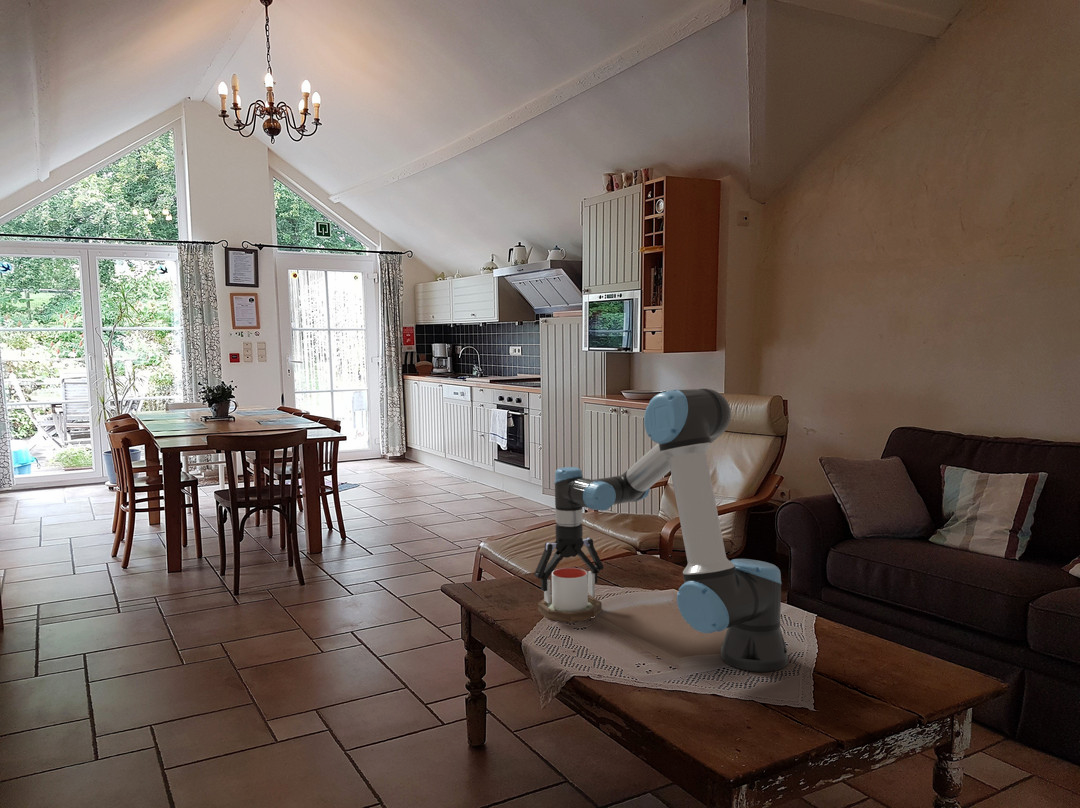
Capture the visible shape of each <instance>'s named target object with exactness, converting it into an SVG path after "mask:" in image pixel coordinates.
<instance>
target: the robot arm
mask: <svg viewBox="0 0 1080 808" xmlns="http://www.w3.org/2000/svg"><path fill="white" fill-rule="evenodd" d="M731 418H732V410H731V407H730V404H729V401H728V399H726V397H725V396H724V395H723V394H721V393H720V392H718V391H717V390H714V389H710V388H699V389H697V388H696V389H695V388H693V389H691V388H690V389H673V390H668V391H663V392H660V393H657V394H656V395H654V396H653V397H652V398H651V399H650V400H649V403H648V405H647V406H646V408H645V411H644V419H643V423H644V424H643V425H644V429H645V432H646V434H647V436H648V437H649V438H650V439H651V440H652V442H654V443H656V445H655V444H654V446H653V447H652V448H651V449H650V450H649V451H647V452H646V453H645V454H644V455H643V456H642V457H640V458H639V459H638V460H637V461H636V462H635V463H634V464H633V465H631V466H630V467H629V468H628V469H627V470H626V471H624V472H623V473H622V474H619V475H615V476H608V477H603V478H597V479H596V478H594V479H590V478H585V477H583V470H582V469H581V468H580V467H575V466H565V467H560V468H557V469H556V470H555V473H554V474H555V475H554V476H555V477H554V482H553V483H554V499H555V500H554V503H555V509H554V510H555V512H554V513H555V514H554V516H555V517H554V518H555V519H554V520H555V521H554V522H555V523H556V524H555V541H554V542H548V541H546V542H545V543H544V551H543V552H542V555H541V557H540V560H539V562H538V565H537V567H536V568H535V571H534V576H535V577H536V578H537V579H539V580H540V587H541V588H540V589H541V591H543V599H544V601H546V602H547V603H551V595H552V586H551V579H550V578H549V577H550V576H552V572H553V571H554V570H556V567H557V566H558V565H559V564H560V561H563V559H564V558H565V559H568V558H571V557H573V558H576V557H577V556H578V557H579V558H580V559H581V560H582V562H583V563H584V564H585V565H586V566H587V567H588V568H589V571H587V573H588V595H591V596H592V597H595V596H596V584H598V574H599V573H600V571H602V570H604V568H605V567H604V564H603V563H602V561H601V558H600V556H599V555H598V552H597V550H596V548H595V547H594V545H595V544H594V540H593V538H591V537H589V536H587V537H585V538H584V539H583V536H584V535H583V533H584V532H583V521H584V520H583V508H587V509H589V510H594V511H607V510H609V509H610V508H611V507H613V506H614V505H616V506H617V505H619V504H627V503H633V502H638V501H640V500H641V501H642V500H644V499H646V498H647V497H648V496H649V493H650V492H651V491H650V490H651V487H653V486H654V485H655V484H656V483H657V482H659V481H660V480H661V479H662V478H664V477H665V476H666V475H668V473H669V472H670V474H671V479H672V486H673V490H674V495H675V501H676V502H675V503H676V507H677V512H678V517H679V522H680V528H681V533H682V539H683V545H684V549H685V555H686V560H687V565H686V566H685V568H684V569H683V571H682V575H683V581H684V583H682V584H681V586H680V587H679V588H678V591H677V593H676V603H677V608H678V610H679V612H680V615H681V617H682V618H683V620H684V621H685V623H686V624H689V626H690V627H691V628H692V629H693V630H695V631H697V632H700V633H702V634H712V633H716V632H723V631H724V630H726V632H725V634H724V635H725V636H724V639H723V641H722V642H721V643H722V644H721V646H720V647H721V648H720V657H721V659H722V660H723V661H724V663H726V664H727V665H729V666H731V667H734V668H737V669H739V670H743V671H744V670H745V671H748V672H749V671H750V672H759V673H760V672H764V673H765V672H766V673H767V672H774V671H778V670H781V669H784V668H785V667H786V666H787V665H788V663H789V653H788V649H787V646H786V642H785V639H784V636H783V632H782V630H781V612H782V611H781V608H782V607H781V606H782V605H781V604H782V603H781V601H782V593H781V592H782V590H781V589H782V584H783V583H782V578H781V577H782V576H781V570H780V569H779V567H778V566H776V565H775V564H773V563H770V562H767V561H762V560H758V559H757V560H756V559H752V558H751V559H749V558H733V559H731V560H730V559H728V558H727V554H726V549H725V544H724V539H723V535H722V534H723V533H722V528H721V523H720V518H719V513H718V512H719V511H718V508H717V502H716V498H715V493H714V487H713V483H712V478H711V471H710V467H709V462H708V457H707V451H708V450H709V448H710V446H711V445H712V443H713V442H714V441H716V440H717V439H718V438H719V437H721V436H722V435H723V434H724V433H725V431H726V430H727V429H728V427H729V425H730V423H731V420H732V419H731ZM583 546H585V547H586V550H587V551H588V552H589V555H590V557H591V559H592V560H593V562H594V563H593V562H592V561H591V560H590V559H589V557H588V556H587V555H586V554H585V552H584V551H583V550H582V548H583ZM555 549H556V550H555ZM553 551H555V552H554V553H553ZM552 553H553V557H552V558H551V556H552Z"/></svg>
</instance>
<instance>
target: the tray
mask: <svg viewBox="0 0 1080 808" xmlns="http://www.w3.org/2000/svg"><path fill="white" fill-rule="evenodd" d="M602 605H603V604H602V602H601V601H600V600H598V599H597V598H595V596H593V597H592V596H591V595H589V594H588V605H587V607H586V608H585V609H584V610H582V611H577V612H563V611H558V610H556V609H555V608H554V607H553V605H552V594H551V603H547V602H546V601H544V598H543V599H542V600H541V601H539V602H538V603H537V609H538V610H537V612H538V613H540V614H541V615H542V616H543V617H545V618H546V619H547V620H553V621H558V620H559V621H561V622H567V623H576V622H580V621H586V620H587V619H588V620H590V619H589V618H591V617H594V616H596V615H597V616H598V615H599V614H600V613H601V612H602V609H603V608H602ZM597 616H596V617H597ZM559 621H558V622H559Z"/></svg>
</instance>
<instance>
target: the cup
mask: <svg viewBox="0 0 1080 808" xmlns="http://www.w3.org/2000/svg"><path fill="white" fill-rule="evenodd" d="M551 595H552V605H553V607H554V608H555V609H556V610H558V611H563V612H577V611H582V610H584V609H585V608H586V607H587V605H588V595H589V594H588V571H586V570H585V569H583V568H578V567H577V568H576V567H563V568H558V569H554V570H553V572H552V573H551Z"/></svg>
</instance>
